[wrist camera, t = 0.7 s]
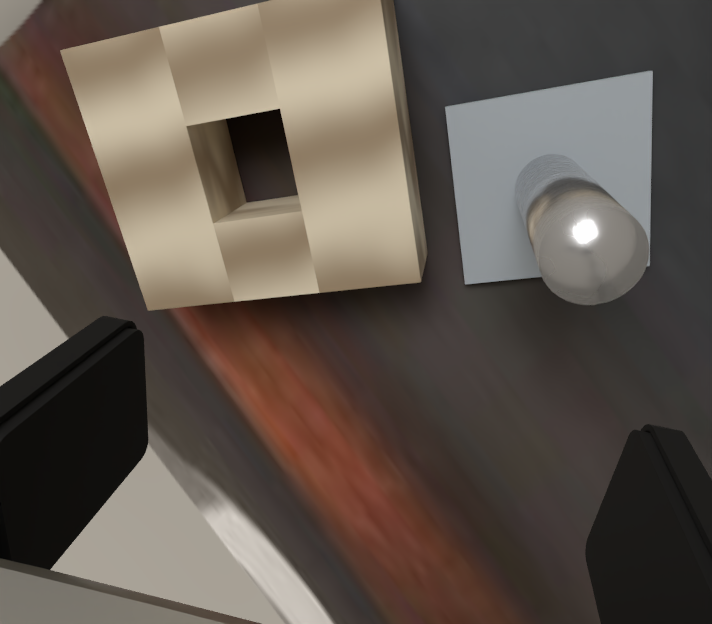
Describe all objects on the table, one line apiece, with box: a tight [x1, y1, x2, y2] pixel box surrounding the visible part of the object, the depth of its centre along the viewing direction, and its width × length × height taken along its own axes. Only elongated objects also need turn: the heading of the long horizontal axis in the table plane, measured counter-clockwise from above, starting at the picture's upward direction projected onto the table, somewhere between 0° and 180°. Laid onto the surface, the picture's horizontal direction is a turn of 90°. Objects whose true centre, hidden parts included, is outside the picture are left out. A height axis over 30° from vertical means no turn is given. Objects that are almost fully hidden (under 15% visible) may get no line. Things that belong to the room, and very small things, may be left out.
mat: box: [445, 71, 653, 284], centre depth 31 cm, size 10×10×1 cm
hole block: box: [60, 0, 428, 311], centre depth 31 cm, size 14×16×5 cm
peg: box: [515, 154, 649, 305], centre depth 25 cm, size 4×4×12 cm
